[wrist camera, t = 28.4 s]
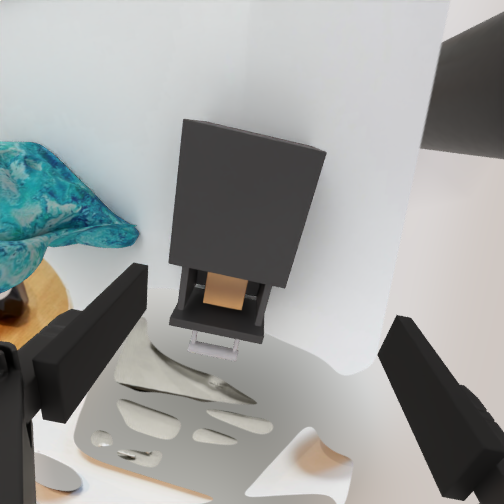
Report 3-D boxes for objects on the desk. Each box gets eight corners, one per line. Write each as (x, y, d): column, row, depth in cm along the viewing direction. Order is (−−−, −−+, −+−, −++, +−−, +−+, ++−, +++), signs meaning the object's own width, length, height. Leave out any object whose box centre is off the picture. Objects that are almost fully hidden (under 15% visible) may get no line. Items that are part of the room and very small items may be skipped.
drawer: (254, 340, 45) (251, 379, 38) (181, 325, 45) (164, 362, 38) (285, 226, 37) (289, 248, 30) (197, 206, 37) (180, 224, 30)
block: (244, 290, 40) (241, 310, 36) (210, 283, 40) (202, 302, 36) (251, 259, 38) (249, 277, 34) (215, 251, 38) (208, 268, 34)
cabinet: (281, 253, 40) (285, 288, 31) (190, 233, 39) (168, 263, 31) (311, 146, 34) (326, 152, 25) (205, 121, 34) (183, 118, 25)
